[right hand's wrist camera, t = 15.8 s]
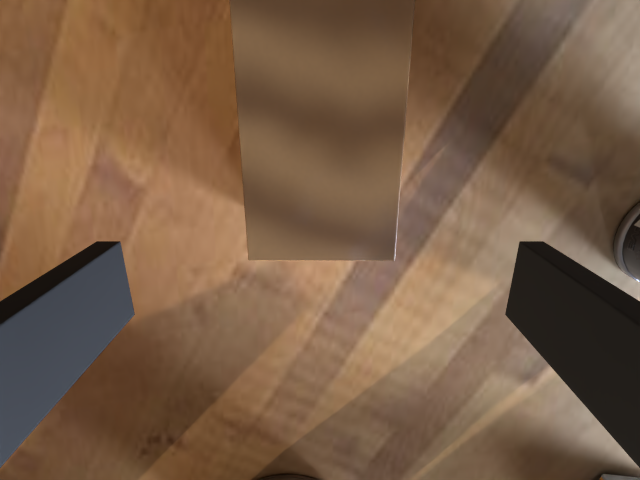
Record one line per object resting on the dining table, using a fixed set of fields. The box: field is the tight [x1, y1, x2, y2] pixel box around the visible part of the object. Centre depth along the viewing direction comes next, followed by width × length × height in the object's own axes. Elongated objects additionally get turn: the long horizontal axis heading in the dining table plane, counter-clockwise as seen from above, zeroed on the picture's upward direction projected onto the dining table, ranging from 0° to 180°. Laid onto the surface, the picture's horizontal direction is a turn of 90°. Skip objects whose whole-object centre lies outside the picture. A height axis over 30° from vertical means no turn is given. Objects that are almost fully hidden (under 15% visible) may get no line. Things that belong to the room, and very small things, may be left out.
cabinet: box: [230, 0, 415, 261], centre depth 26 cm, size 19×10×10 cm, turn 0°
